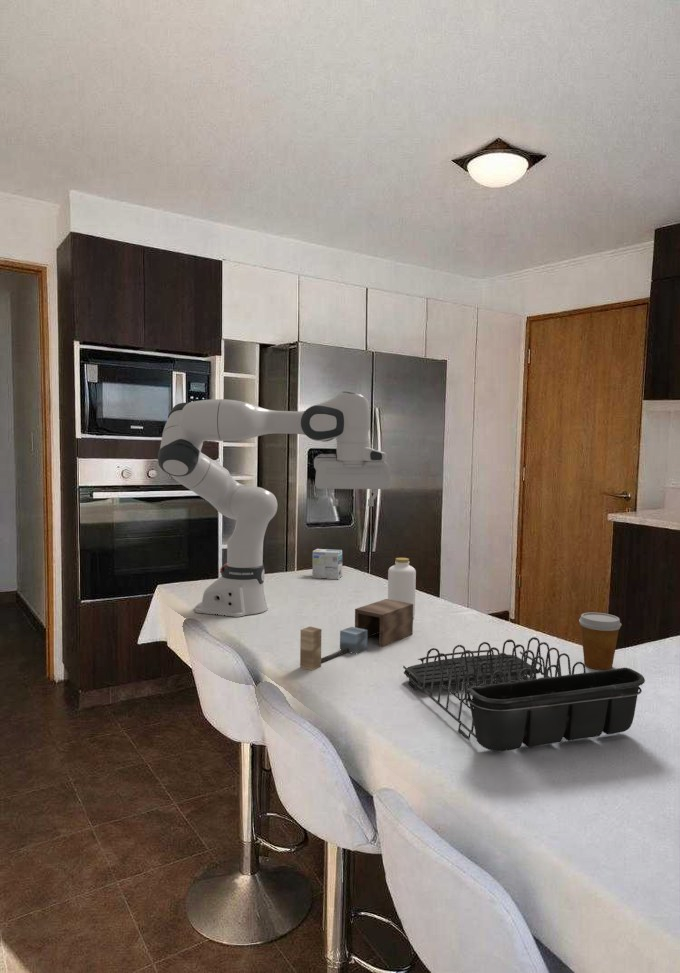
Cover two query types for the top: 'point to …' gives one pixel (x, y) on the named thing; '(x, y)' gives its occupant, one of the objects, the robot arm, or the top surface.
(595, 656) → the disposable coffee cup
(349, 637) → the tethered block
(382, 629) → the cubby
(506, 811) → the top surface
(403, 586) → the potion bottle
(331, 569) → the light bulb box
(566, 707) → the dish rack
